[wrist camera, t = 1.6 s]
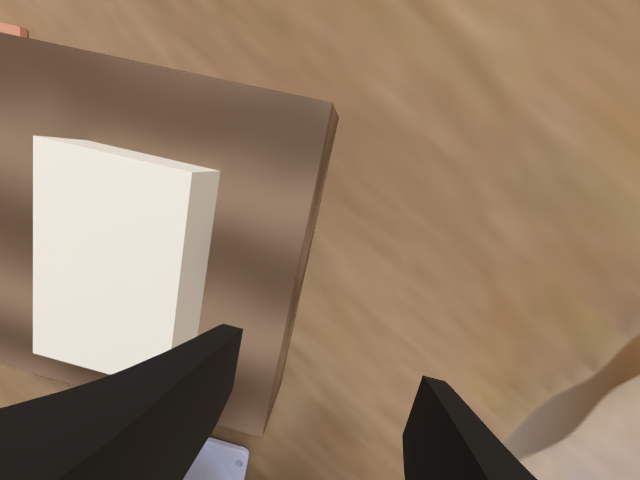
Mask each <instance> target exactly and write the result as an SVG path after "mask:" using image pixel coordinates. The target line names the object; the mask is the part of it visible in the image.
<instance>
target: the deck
mask: <svg viewBox="0 0 640 480" xmlns="http://www.w3.org/2000/svg"><path fill="white" fill-rule="evenodd" d="M338 118H339V117H338V115H337V112H336V110H335V108H334V105H333V103H331V102H326V101H322V100H317V99H312V98H307V97H303V96H298V95H293V94H289V93H284V92H279V91H275V90H270V89H265V88H260V87H256V86H251V85H246V84H242V83H237V82H232V81H227V80H223V79H218V78H213V77H209V76H204V75H199V74H195V73H190V72H185V71H180V70H176V69H171V68H166V67H162V66H157V65H152V64H148V63H143V62H138V61H133V60H129V59H124V58H119V57H115V56H110V55H105V54H100V53H96V52H91V51H86V50H82V49H77V48H72V47H68V46H63V45H58V44H53V43H49V42H44V41H39V40H35V39H30V38H25V37H21V36H16V35H11V34H6V33H2V32H0V364H1V365H5V366H8V367H12V368H15V369H19V370H22V371H26V372H29V373H33V374H37V375H40V376H44V377H47V378H51V379H54V380H58V381H62V382H65V383H69V384H72V385H76V386H80V385H83V384H86V383H89V382H92V381H95V380H97V379H100V378H103V377H106V376H109V375H110V374H106V373H103V372H99V371H95V370H92V369H88V368H84V367H81V366H77V365H74V364H70V363H66V362H63V361H59V360H56V359H52V358H48V357H45V356H41V355H37V354H34V353H33V135H34V136H46V137H57V138H68V139H79V140H88V141H92V142H97V143H101V144H105V145H110V146H114V147H118V148H123V149H127V150H131V151H136V152H140V153H144V154H149V155H153V156H157V157H162V158H166V159H170V160H175V161H179V162H184V163H188V164H192V165H197V166H201V167H205V168H210V169H214V170H218V171H220V178H219V185H218V192H217V199H216V206H215V214H214V221H213V228H212V235H211V242H210V250H209V257H208V264H207V271H206V278H205V286H204V293H203V300H202V307H201V314H200V322H199V329H198V336H199V335H201V334H203V333H204V332H206V331H208V330H210V329H212V328H214V327H216V326H219V325H221V324H227V325H231V326H234V327H238V328H242V329H243V334H242V339H241V345H240V351H239V356H238V362H237V368H236V373H235V379H234V385H233V390H232V392H231V394H230V396H229V399H228V401H227V403H226V405H225V408H224V410H223V412H222V414H221V416H220V418H219V420H218V422H217V424H216V425H218V426H222V427H225V428H229V429H233V430H236V431H240V432H243V433H247V434H250V435H254V436H258V437H261V438H262V436H263V433H264V430H265V428H266V425H267V422H268V419H269V416H270V414H271V411H272V408H273V405H274V402H275V399H276V397H277V394H278V391H279V388H280V385H281V381H282V376H283V371H284V367H285V362H286V358H287V353H288V348H289V344H290V339H291V335H292V330H293V325H294V321H295V316H296V311H297V307H298V302H299V298H300V293H301V288H302V284H303V279H304V275H305V270H306V265H307V261H308V256H309V252H310V247H311V242H312V238H313V233H314V229H315V224H316V219H317V215H318V210H319V206H320V201H321V196H322V192H323V187H324V183H325V178H326V173H327V169H328V164H329V160H330V155H331V150H332V146H333V141H334V136H335V132H336V127H337V123H338Z"/></svg>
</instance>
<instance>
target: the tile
mask: <svg viewBox="0 0 640 480" xmlns="http://www.w3.org/2000/svg"><path fill="white" fill-rule="evenodd" d="M219 178H220V171H218V170H214V169H210V168H205V167H201V166H197V165H192V164H188V163H184V162H179V161H175V160H170V159H166V158H162V157H157V156H153V155H149V154H144V153H140V152H136V151H131V150H127V149H123V148H118V147H114V146H110V145H105V144H101V143H97V142H92V141H88V140H79V139H68V138H57V137H46V136H34V135H33V353H34V354H37V355H41V356H45V357H48V358H52V359H56V360H59V361H63V362H66V363H70V364H74V365H77V366H81V367H84V368H88V369H92V370H95V371H99V372H103V373H106V374H110V375H111V374H114V373H117V372H119V371H122V370H124V369H127V368H129V367H131V366H134V365H136V364H138V363H141V362H143V361H145V360H148V359H150V358H152V357H155V356H157V355H159V354H161V353H164V352H166V351H168V350H170V349H172V348H174V347H176V346H178V345H180V344H182V343H184V342H187V341H189V340H191V339H193V338H195V337H197V336H198V329H199V322H200V314H201V307H202V300H203V293H204V286H205V278H206V271H207V264H208V257H209V250H210V242H211V235H212V228H213V221H214V214H215V206H216V199H217V192H218V185H219Z"/></svg>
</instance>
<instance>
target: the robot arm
mask: <svg viewBox="0 0 640 480" xmlns="http://www.w3.org/2000/svg"><path fill="white" fill-rule="evenodd" d="M242 334H243V329H242V328H238V327H234V326H231V325H227V324H221V325H219V326H216V327H214V328H212V329H210V330H208V331H206V332H204V333H203V334H201V335H199V336H197V337H195V338H193V339H191V340H189V341H187V342H184V343H182V344H180V345H178V346H176V347H174V348H172V349H170V350H168V351H166V352H164V353H161V354H159V355H157V356H155V357H152V358H150V359H148V360H145V361H143V362H141V363H138V364H136V365H134V366H131V367H129V368H127V369H124V370H122V371H119V372H117V373H114V374H111V375H109V376H106V377H103V378H100V379H97V380H95V381H92V382H89V383H86V384H83V385H80V386H77V387H74V388H71V389H68V390H64V391H61V392H57V393H54V394H50V395H47V396H43V397H40V398H36V399H32V400H29V401H25V402H22V403H18V404H15V405H11V406H7V407H4V408H0V480H244V479H245V474H246V469H247V464H248V459H249V451H248V450H247V449H246V448H245V447H242V446H238V445H235V444H231V443H228V442H224V441H221V440H217V439H214V438H210V437H209V436H210V434H211V433H212V431H213V429H214V428H215V426H216V424H217V422H218V420H219V418H220V416H221V414H222V412H223V410H224V408H225V405H226V403H227V401H228V399H229V396H230V394H231V392H232V390H233V385H234V379H235V373H236V368H237V362H238V356H239V351H240V345H241V339H242ZM403 458H404V474H405V480H537V479H536V478H535V477H534V476H533V475H532V474H531V473H530V472H529V471H528V470H527V469H526V468H525V467H524V466H523V465H522V464H521V463H520V462H519V461H518V460H517V459H516V458H515V457H514V456H513V455H512V453H511V452H510V451H509V450H508V449H507V448H506V447H505V446H504V445H503V444H502V443H501V442H500V441H499V440H498V438H497V437H496V436H495V435H494V434H493V433H492V432H491V431H490V430H489V429H488V428H487V426H486V425H485V424H484V423H483V422H482V421H481V420H480V419H479V417H478V416H477V415H476V414H475V413H474V412H473V411H472V410H471V409H470V407H469V406H468V405H467V404H466V403H465V402H464V401H463V400H462V398H461V397H460V396H459V395H458V394H457V393H456V392H455V391H454V390H453V389H452V388H451V387H450V386H449V385H448V384H447V383H446V382H445V381H442V380H438V379H434V378H430V377H426V376H423V377H422V380H421V383H420V386H419V389H418V391H417V394H416V397H415V400H414V403H413V406H412V409H411V412H410V415H409V418H408V421H407V424H406V427H405V430H404V433H403ZM239 460H240V461H242V462H240V461H239Z"/></svg>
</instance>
